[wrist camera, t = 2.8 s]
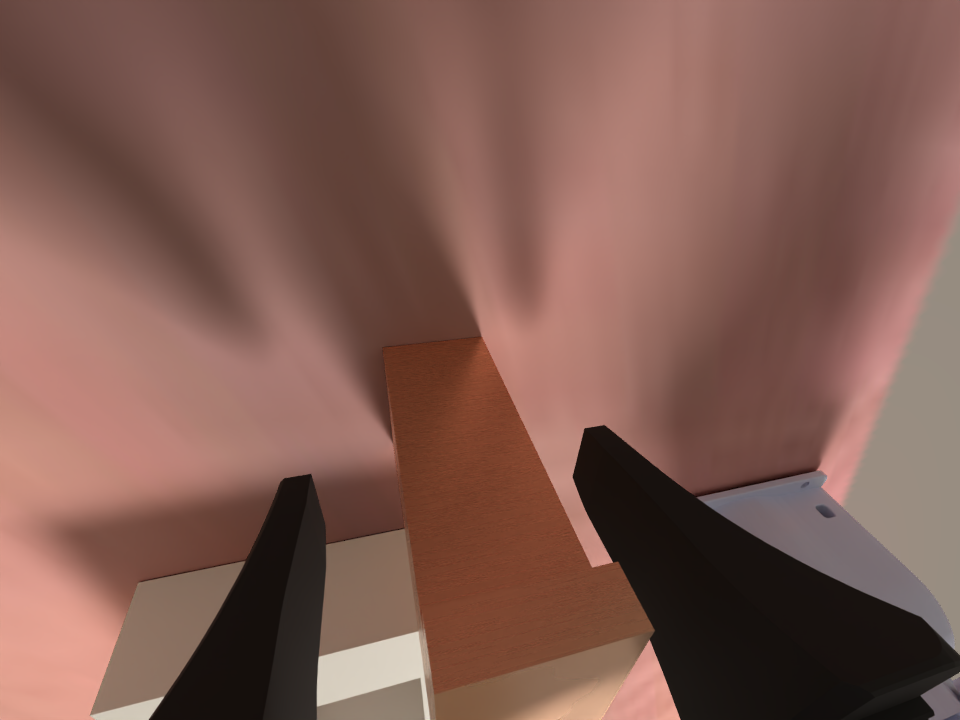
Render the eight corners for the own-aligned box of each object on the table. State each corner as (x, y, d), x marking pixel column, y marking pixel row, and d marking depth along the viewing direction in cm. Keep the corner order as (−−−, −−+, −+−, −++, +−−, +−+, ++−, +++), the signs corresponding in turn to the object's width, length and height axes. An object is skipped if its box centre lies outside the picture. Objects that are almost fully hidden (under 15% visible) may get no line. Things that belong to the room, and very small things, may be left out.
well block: (506, 507, 19) (539, 600, 16) (490, 646, 27) (509, 725, 24) (138, 582, 16) (89, 715, 13) (244, 714, 24) (230, 814, 21)
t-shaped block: (483, 308, 13) (654, 630, 6) (476, 449, 16) (578, 756, 9) (379, 318, 12) (433, 694, 5) (395, 463, 16) (440, 804, 9)
